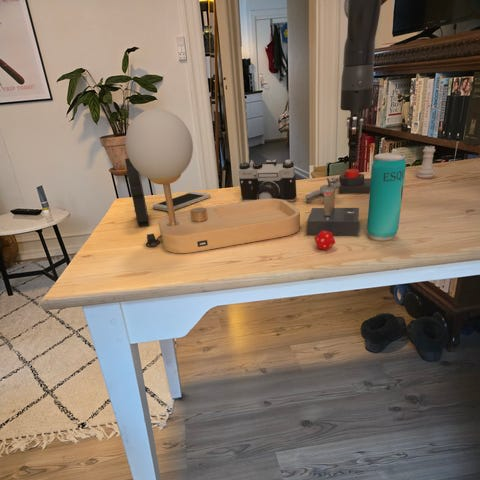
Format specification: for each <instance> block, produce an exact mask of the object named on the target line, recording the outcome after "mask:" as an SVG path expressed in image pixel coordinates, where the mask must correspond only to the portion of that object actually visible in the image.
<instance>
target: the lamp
mask: <svg viewBox="0 0 480 480" xmlns="http://www.w3.org/2000/svg"><path fill="white" fill-rule="evenodd" d="M124 144H125V152H126V154H127V158H129V160H130V162H131V163H132V165H133V166H134V167H135V169H136V170H137V171H138V172H139V173H140V175H142V176H144V177H145V178H147V179H148V181H150V182H152V183H153V184H156V185H162V187H163V192H164V198H165V201H166V205H167V210H168V211H167V214H165V215H163V216H162V217H161V218H159V219H158V223H157V224H158V226H159V228H158V229H159V234H160V235H159V236H158V237H157V238H156V235H155V234H154V233H149V234H146V240H147V242H146V244H145V246H146V247H148V248H156V247H157V246H158V245H159V244H161V242H162V244H163V248H164V250H166V251H167V252H170V253H175V254H191V253H197V252H203V251H209V250H214V249H220V248H226V247H233V246H237V245H242V244H243V245H244V244H250V243H255V242H261V241H267V240H272V239H277V238H283V237H288V236H291V235H294V234H296V233H298V232H299V231H300V229H301V211H300V209H299V208H298V207H296V206H295V205H293V204H292V203H290V201H285V200H282V199H258V200H252V201H240V202H239V201H238V202H233V203H226V204H221V205H220V204H219V205H215V206H213V205H212V206H206V207H193V208H191V209H188V210H182V211H176V212H175V210H174V207H173V201H172V199H173V196H172V195H173V194H172V189H171V184H173V183H175V182H177V181H178V180H179V179H180V178H181V177H182V174H183V173H184V172H185V171H186V170H187V168H188V167H189V166H190V163H191V162H192V161H191V160H192V159H193V152H194V143H193V138H192V134H191V132H190V129H189V127H188V126H187V124H186V123H185V122H184V121H183V119H181V118H180V117H179V116H178V115H176V114H174V113H173V112H171V111H169V110H166V109H161V108H151V109H148V110H144V111H143V112H140V113H139V114H138V115H137V116H136V117H134V118H133V119H132V121H131V122H130V123H129V126H128V128H127V130H126V134H125V143H124ZM159 238H161V240H159Z"/></svg>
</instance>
